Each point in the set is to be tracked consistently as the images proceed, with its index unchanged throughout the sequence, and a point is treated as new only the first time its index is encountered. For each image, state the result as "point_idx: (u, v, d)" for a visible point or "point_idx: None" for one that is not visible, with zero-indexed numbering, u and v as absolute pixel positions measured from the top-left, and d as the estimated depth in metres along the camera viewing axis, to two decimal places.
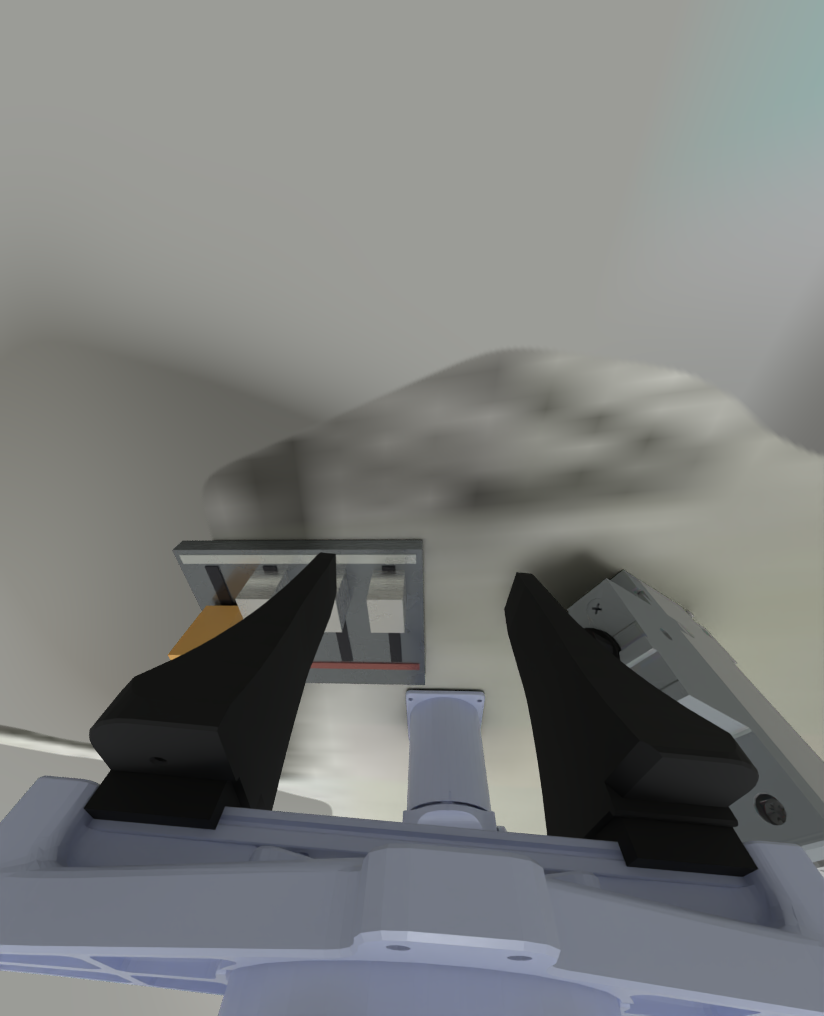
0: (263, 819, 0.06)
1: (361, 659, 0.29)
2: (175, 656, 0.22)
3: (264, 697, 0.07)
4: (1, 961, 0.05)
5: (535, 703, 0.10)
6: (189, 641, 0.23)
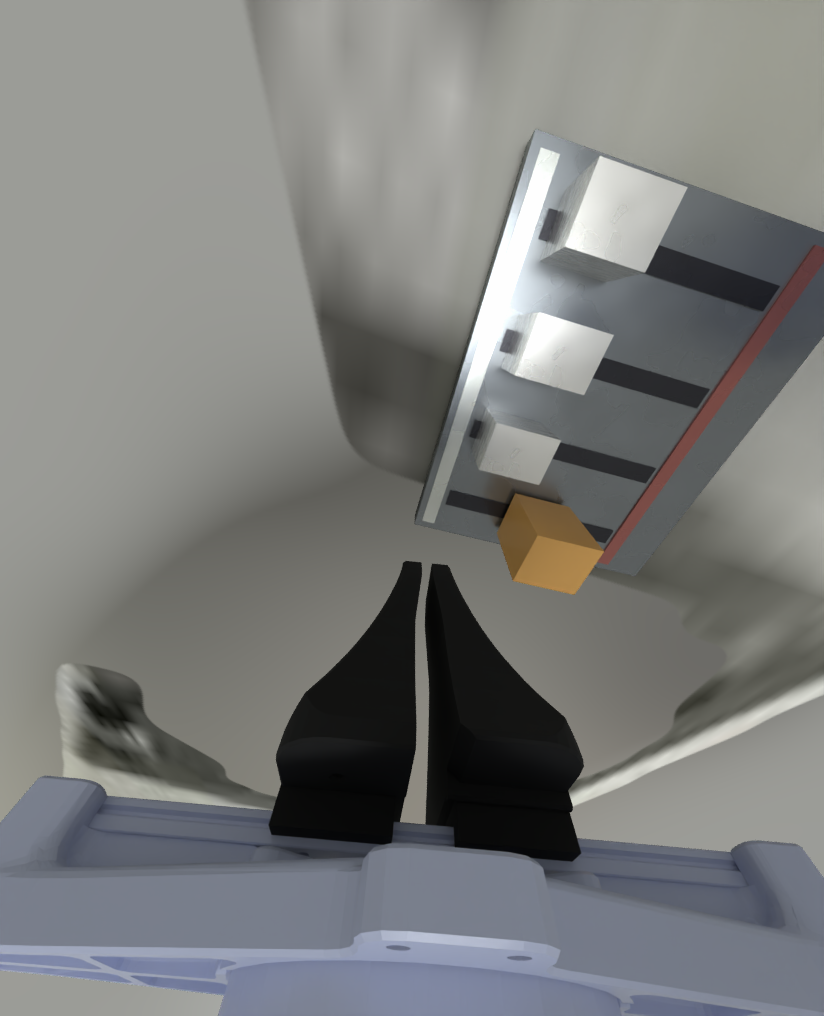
0: (263, 819, 0.06)
1: (716, 371, 0.16)
2: (519, 574, 0.17)
3: None
4: (1, 961, 0.05)
5: (431, 693, 0.10)
6: (514, 555, 0.18)
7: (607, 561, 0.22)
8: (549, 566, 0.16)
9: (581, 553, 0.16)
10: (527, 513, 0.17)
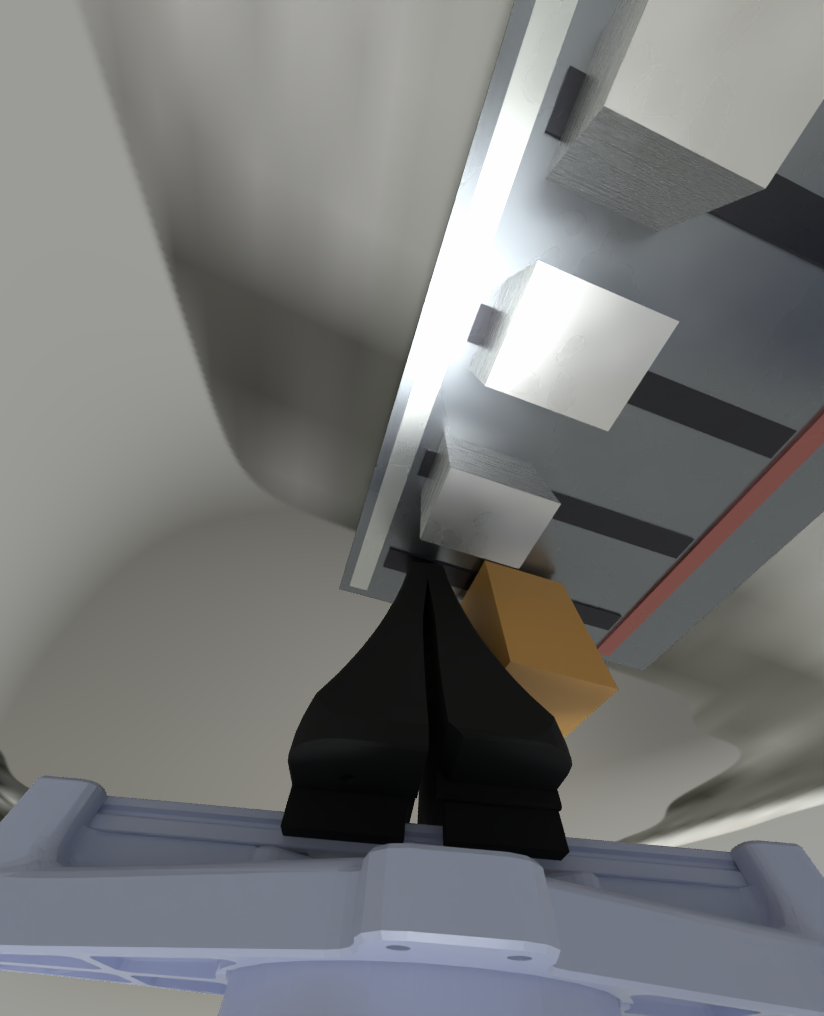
0: (263, 819, 0.06)
1: (812, 404, 0.10)
2: None
3: None
4: (1, 961, 0.05)
5: None
6: None
7: (608, 651, 0.16)
8: None
9: (580, 690, 0.10)
10: (499, 606, 0.11)
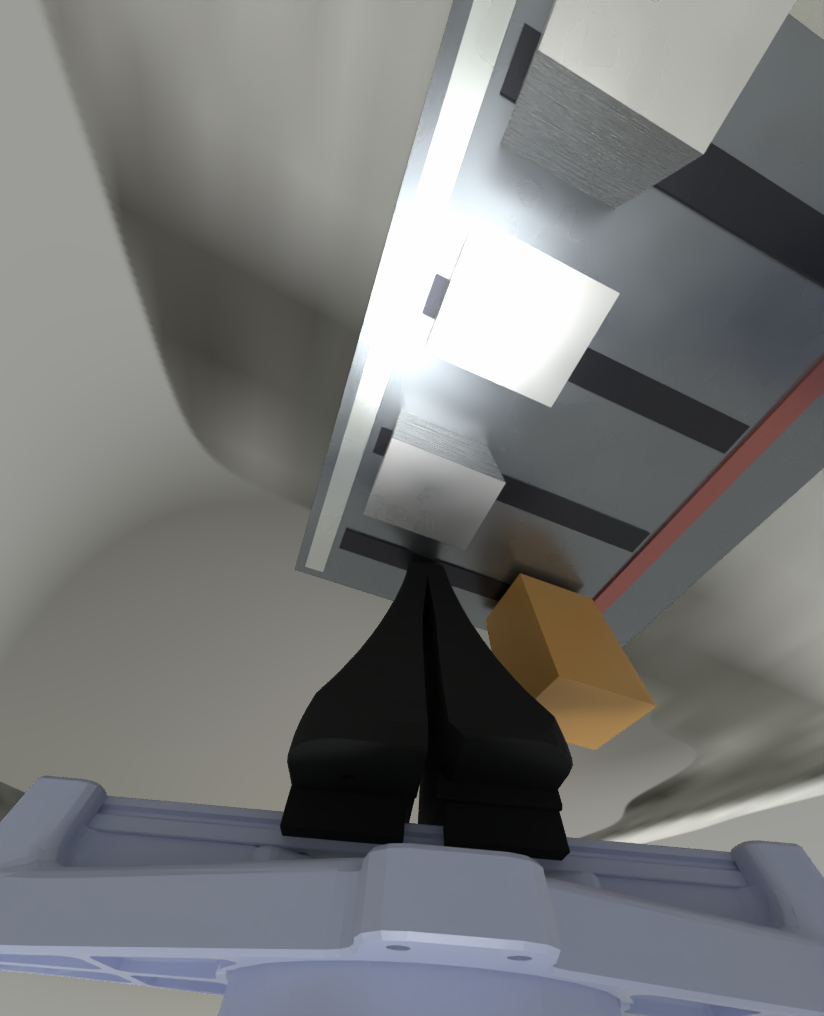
0: (263, 819, 0.06)
1: (765, 399, 0.10)
2: None
3: None
4: (1, 961, 0.05)
5: (425, 692, 0.10)
6: None
7: None
8: (566, 714, 0.10)
9: (620, 705, 0.10)
10: (539, 620, 0.11)
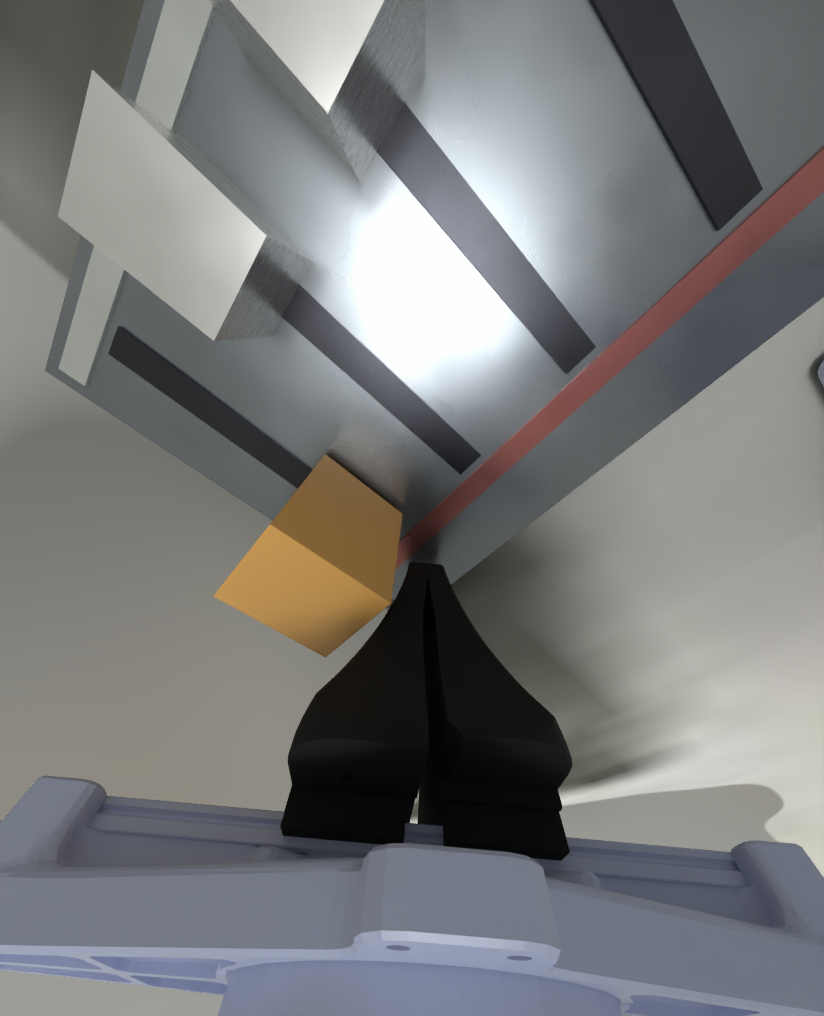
0: (263, 819, 0.06)
1: (616, 318, 0.09)
2: (227, 588, 0.08)
3: None
4: (1, 961, 0.05)
5: None
6: None
7: None
8: (286, 592, 0.08)
9: (349, 592, 0.08)
10: (304, 486, 0.09)
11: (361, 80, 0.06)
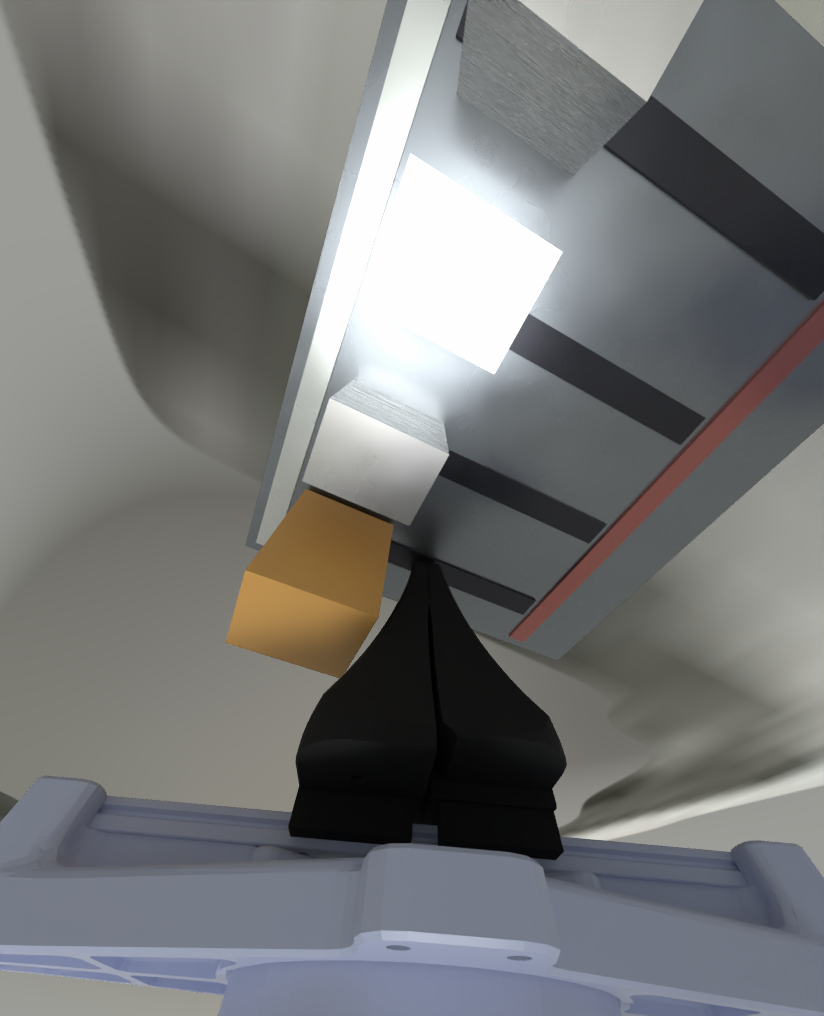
0: (263, 819, 0.06)
1: (721, 391, 0.10)
2: (234, 633, 0.09)
3: None
4: (1, 961, 0.05)
5: None
6: None
7: (523, 637, 0.16)
8: (283, 627, 0.09)
9: (337, 614, 0.09)
10: (282, 525, 0.10)
11: None
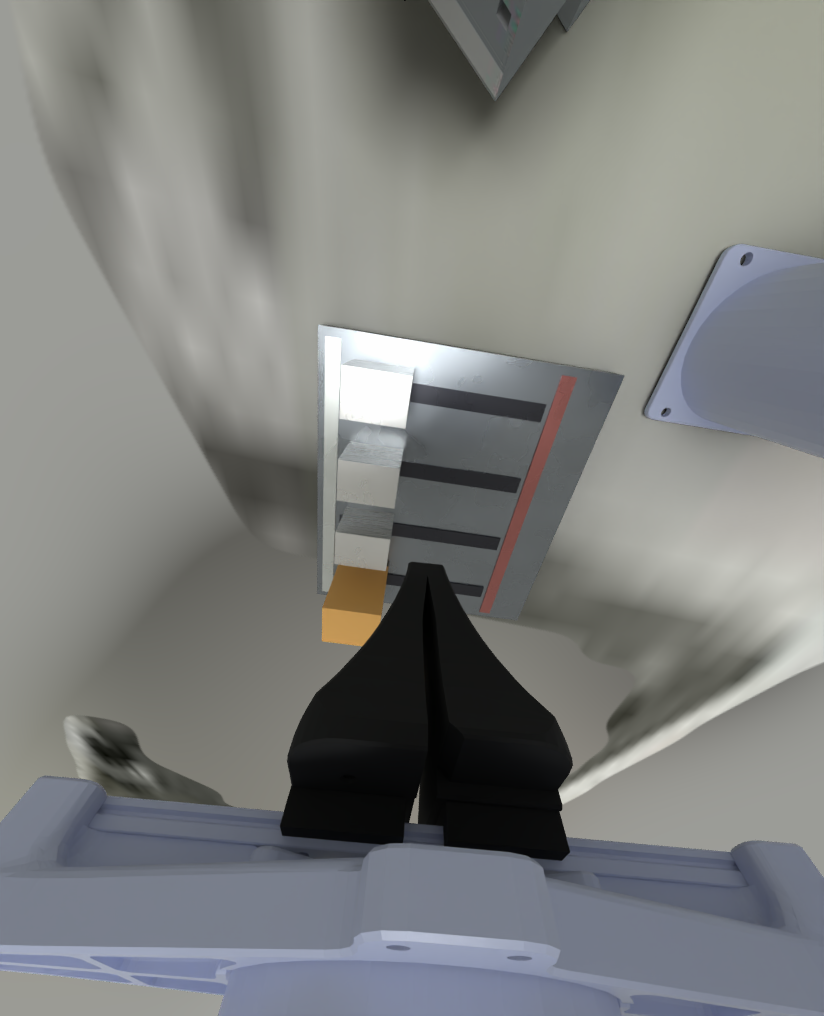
0: (263, 819, 0.06)
1: (521, 466, 0.20)
2: (324, 636, 0.20)
3: None
4: (1, 961, 0.05)
5: (425, 692, 0.10)
6: None
7: (489, 610, 0.26)
8: (343, 628, 0.20)
9: (363, 618, 0.19)
10: (332, 583, 0.21)
11: None
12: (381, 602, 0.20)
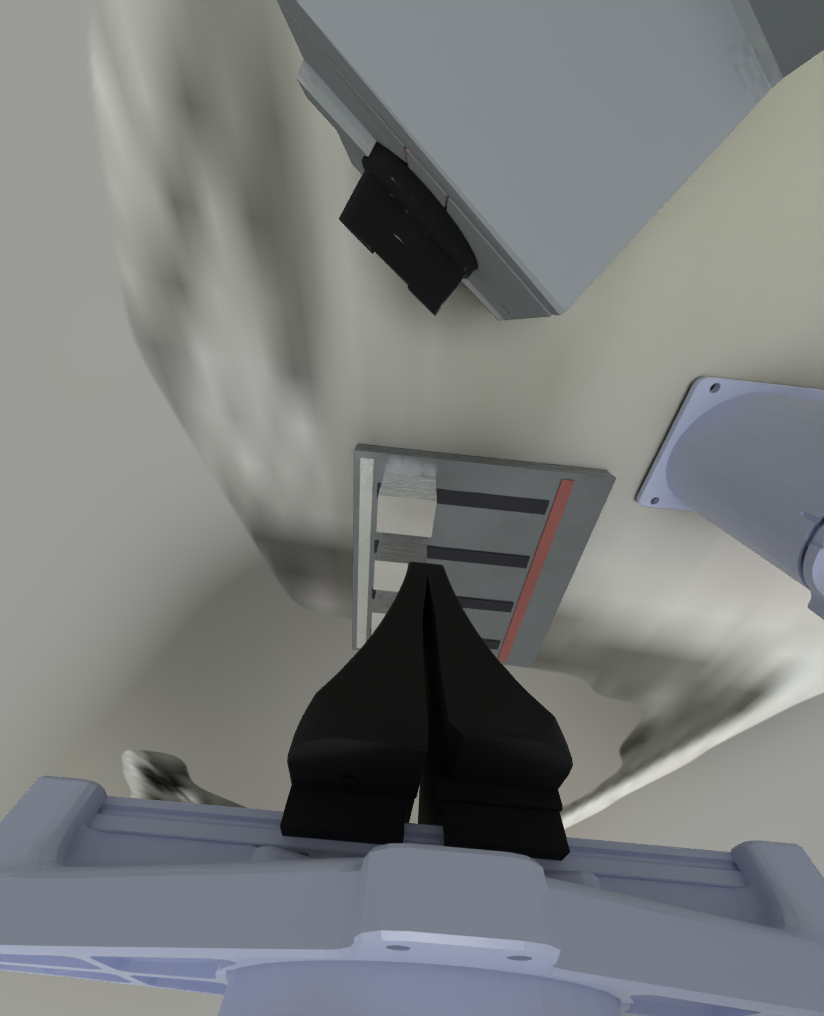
0: (263, 819, 0.06)
1: (530, 547, 0.22)
2: None
3: None
4: (1, 961, 0.05)
5: (425, 692, 0.10)
6: None
7: (505, 659, 0.28)
8: None
9: None
10: None
11: None
12: None
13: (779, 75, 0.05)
